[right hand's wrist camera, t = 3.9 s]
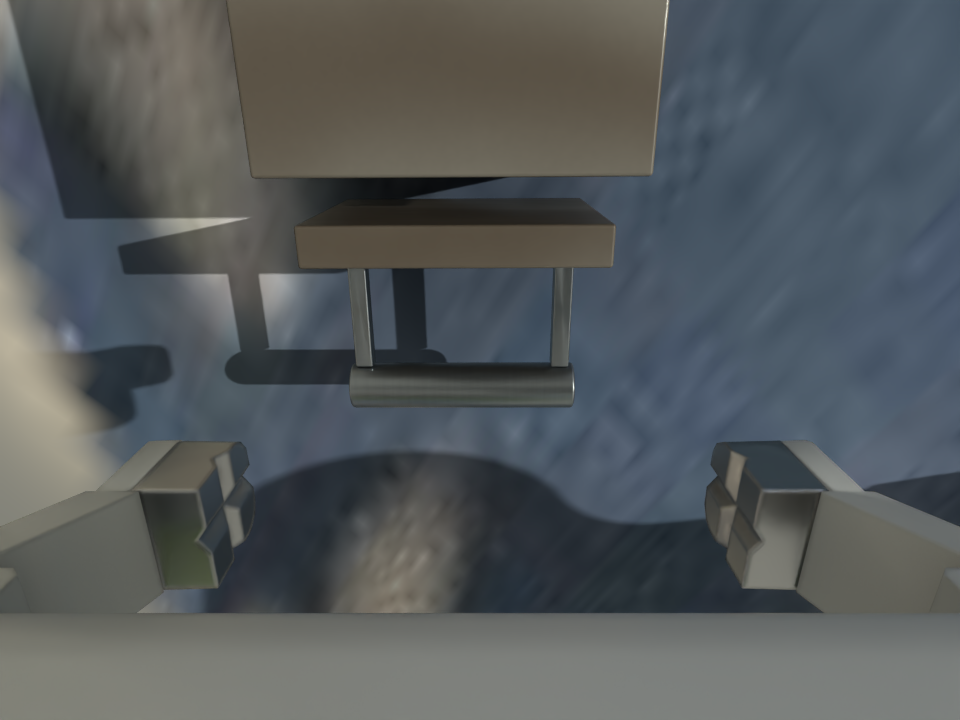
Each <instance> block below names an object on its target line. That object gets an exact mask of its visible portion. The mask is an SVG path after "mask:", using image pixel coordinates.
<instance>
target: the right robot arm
mask: <svg viewBox="0 0 960 720" xmlns="http://www.w3.org/2000/svg"><path fill="white" fill-rule="evenodd" d="M249 465H250V464H249V460H248V455H247V450H246V447H245V446H244V445H243V444H242V443H241V442H225V441H181V440H166V441H150V442H148V443H147V444H145V445H144V446H143V447H142V448H141V449H140V450H139V451H138V452H137V453H136V454H135V455H134V456H133V457H132V458H131V459H129V460H128V461H127V462H126V463H125V464H124V465H123V466H122V467H121V468H120V469H119V470H118V471H117V472H116V473H114V474H113V475H112V476H111V477H110V478H109V479H108V480H107V481H106V482H105V483H104V484H103V485H102V486H101V487H99V488H98V489H97V490H96V491H85V492H83V493H81V494H78V495H76V496H73V497H71V498H68V499H66V500H64V501H61V502H59V503H56V504H54V505H51V506H49V507H47V508H44V509H42V510H39V511H37V512H34V513H32V514H30V515H27V516H25V517H22V518H20V519H17V520H15V521H13V522H10V523H8V524H5V525H3V526H0V720H960V527H959V526H957V525H954V524H952V523H950V522H947V521H945V520H942V519H940V518H938V517H935V516H933V515H930V514H928V513H925V512H923V511H921V510H918V509H916V508H913V507H911V506H908V505H906V504H904V503H901V502H899V501H896V500H894V499H892V498H889V497H887V496H884V495H882V494H879V493H877V492H875V491H864V490H863V489H862V488H861V487H859V486H858V485H857V484H856V483H855V482H854V481H853V480H852V479H851V478H850V477H849V476H848V475H847V474H846V473H845V472H843V471H842V470H841V469H840V468H839V467H838V466H837V465H836V464H835V463H834V462H833V461H832V460H831V459H830V458H829V457H827V456H826V455H825V454H824V453H823V452H822V451H821V450H820V449H819V448H818V447H817V446H816V445H815V444H814V443H813V442H810V441H806V440H793V441H747V442H721V443H717V444H716V446H715V448H714V450H713V453H712V459H711V464H710V465H711V466H712V468H713V469H714V471H715V472H716V474H717V477H716V478H715V479H714V480H713V481H712V482H711V483H710V484H709V485H708V486H707V489H706V496H705V514H706V521H707V524H708V528H709V531H710V533H711V535H712V536H713V538H714V540H715V541H716V542H717V543H719V544H721V545H722V546H724V547H725V548H727V553H726V561H727V563H728V565H729V566H730V568H731V570H732V572H733V573H734V575H735V577H736V578H737V580H738V582H739V584H740V585H741V587H742V588H750V589H787V590H796V592H797V593H798V594H799V595H801V596H802V597H803V598H805V599H806V600H807V601H809V602H810V603H811V604H813V605H814V606H815V607H817V608H818V609H819V610H821V611H822V612H823V613H137V612H138V611H140V610H141V609H142V608H144V607H145V606H146V605H148V604H149V603H150V602H152V601H153V600H154V599H156V598H157V597H158V596H160V595H161V594H162V593H163V592H164V591H163V590H172V589H208V588H218V587H219V586H220V584H221V582H222V580H223V579H224V577H225V575H226V573H227V572H228V570H229V568H230V566H231V565H232V563H233V561H234V553H233V548H235V547H236V546H238V545H239V544H241V543H243V542H244V541H245V540H246V538H247V536H248V534H249V533H250V531H251V528H252V524H253V520H254V515H255V495H254V488H253V486H252V485H251V484H250V483H249V482H248V481H247V480H246V479H245V478H244V477H243V474H244V472H245V471H246V469H247V468H248V466H249Z"/></svg>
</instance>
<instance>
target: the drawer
mask: <svg viewBox="0 0 960 720" xmlns="http://www.w3.org/2000/svg"><path fill="white" fill-rule="evenodd" d="M294 233H295V241H296V250H297V258H298V266H299V268H301V269H348V280H349V292H350V303H351V314H352V325H353V336H354V347H355V358H356V363H354V364H353V366H352V368H351V372H350V379H349V393H350V399H351V403H352V405H353V406H354V407H572V405H573V403H574V396H575V376H574V368H573V365H572V363H569V344H570V325H571V305H572V286H573V268H610V267H612V266H613V260H614V247H615V234H616V226H615V224H613V223H612V222H611V221H609V220H608V219H607V218H605V217H604V216H603V215H602V214H600V213H599V212H598V211H596V210H595V209H594V208H592V207H591V206H590V205H588V204H587V203H586V202H584V201H583V200H582V199H580V198H509V199H348V200H346V201H344V202H342V203H340V204H338V205H336V206H334V207H332V208H330V209H328V210H326V211H324V212H322V213H320V214H318V215H316V216H314V217H312V218H310V219H308V220H306V221H304V222H302V223H300V224H298V225H296V226H295V227H294ZM391 268H553V288H552V314H551V339H550V363H375V347H374V334H373V321H372V308H371V295H370V282H369V269H391Z"/></svg>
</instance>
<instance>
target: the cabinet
mask: <svg viewBox="0 0 960 720" xmlns="http://www.w3.org/2000/svg"><path fill="white" fill-rule="evenodd" d="M669 2H670V0H226V4H227V11H228V18H229V25H230V32H231V39H232V46H233V53H234V60H235V67H236V74H237V81H238V88H239V95H240V102H241V109H242V116H243V123H244V130H245V137H246V144H247V151H248V158H249V165H250V172H251V176H252V178H255V179H274V178H440V177H606V176H651V175H652V173H653V167H654V157H655V147H656V136H657V126H658V116H659V105H660V95H661V84H662V74H663V64H664V53H665V43H666V33H667V22H668V12H669Z"/></svg>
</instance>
